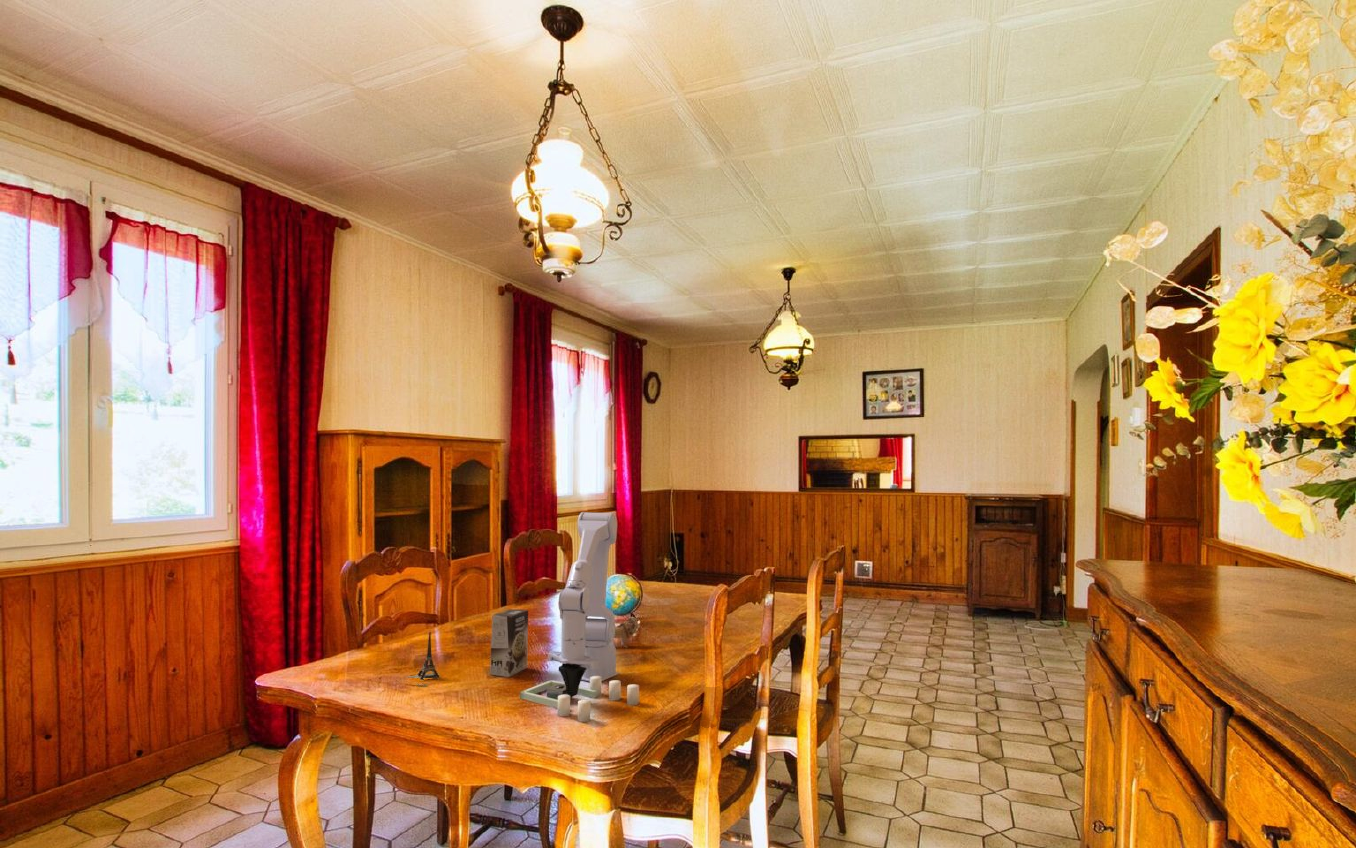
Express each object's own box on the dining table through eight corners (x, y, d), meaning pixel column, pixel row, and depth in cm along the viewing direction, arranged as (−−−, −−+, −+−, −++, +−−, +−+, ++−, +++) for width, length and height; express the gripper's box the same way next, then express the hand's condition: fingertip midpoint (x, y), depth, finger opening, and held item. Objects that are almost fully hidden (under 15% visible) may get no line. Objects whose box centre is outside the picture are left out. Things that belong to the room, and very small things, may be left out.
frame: (551, 685, 169) (551, 680, 169) (596, 697, 161) (596, 690, 162) (519, 698, 160) (520, 692, 160) (566, 711, 152) (566, 704, 152)
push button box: (556, 695, 163) (557, 682, 163) (572, 697, 161) (572, 684, 161) (546, 701, 158) (546, 688, 159) (562, 703, 157) (562, 690, 157)
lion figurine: (635, 643, 211) (636, 615, 212) (639, 647, 206) (639, 618, 207) (590, 646, 207) (590, 617, 208) (592, 650, 202) (593, 621, 203)
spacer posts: (594, 691, 165) (595, 675, 166) (641, 702, 158) (641, 685, 158) (546, 713, 151) (547, 695, 151) (595, 726, 143) (595, 707, 143)
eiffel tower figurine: (428, 668, 185) (430, 620, 186) (459, 671, 182) (461, 622, 183) (392, 685, 170) (394, 633, 171) (425, 689, 168) (427, 636, 169)
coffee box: (509, 677, 176) (511, 616, 177) (489, 675, 178) (490, 614, 179) (528, 668, 184) (529, 609, 185) (508, 665, 186) (509, 608, 187)
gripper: (539, 637, 160) (538, 694, 159) (585, 646, 152) (584, 706, 151) (559, 631, 166) (558, 686, 165) (604, 639, 158) (603, 697, 157)
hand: (572, 695), depth 158 cm, fingers closed
